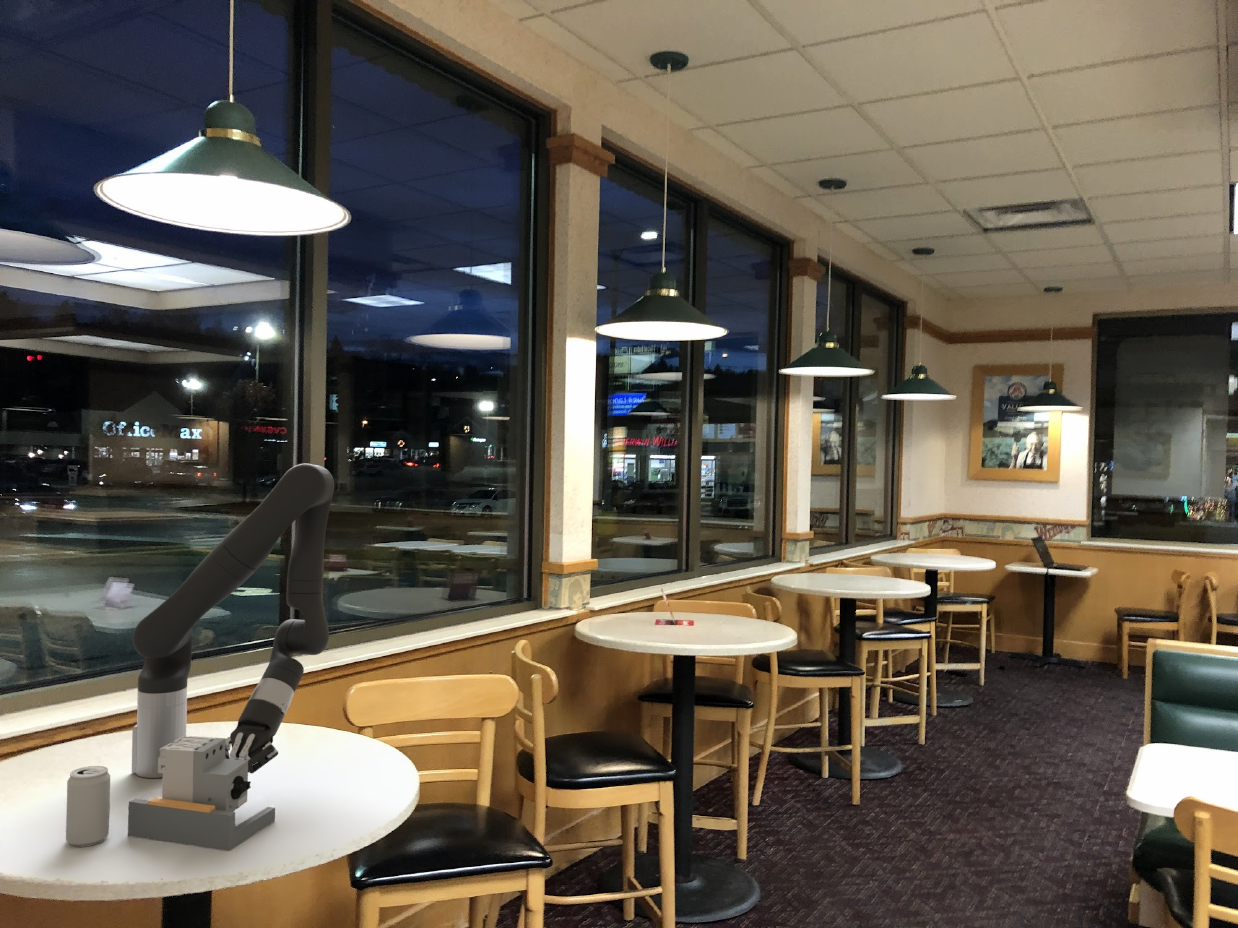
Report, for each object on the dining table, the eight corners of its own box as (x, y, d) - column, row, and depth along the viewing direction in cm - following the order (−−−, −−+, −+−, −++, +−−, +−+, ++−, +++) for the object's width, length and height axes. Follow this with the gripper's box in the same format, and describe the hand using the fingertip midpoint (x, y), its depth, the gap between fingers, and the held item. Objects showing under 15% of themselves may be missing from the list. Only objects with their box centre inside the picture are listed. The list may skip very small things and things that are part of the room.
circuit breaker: (234, 840, 160) (236, 753, 160) (156, 834, 162) (158, 748, 162) (255, 822, 168) (257, 740, 168) (180, 817, 169) (182, 735, 169)
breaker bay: (127, 835, 161) (128, 798, 161) (179, 808, 173) (180, 772, 173) (228, 850, 156) (229, 811, 156) (274, 821, 169) (275, 785, 169)
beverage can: (77, 832, 161) (78, 764, 161) (115, 832, 162) (117, 764, 162) (58, 848, 155) (59, 777, 155) (98, 848, 156) (99, 777, 155)
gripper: (229, 694, 181) (184, 777, 170) (289, 700, 178) (247, 786, 166) (245, 713, 186) (203, 796, 175) (304, 720, 183) (265, 804, 172)
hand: (224, 791), depth 171 cm, fingers closed
